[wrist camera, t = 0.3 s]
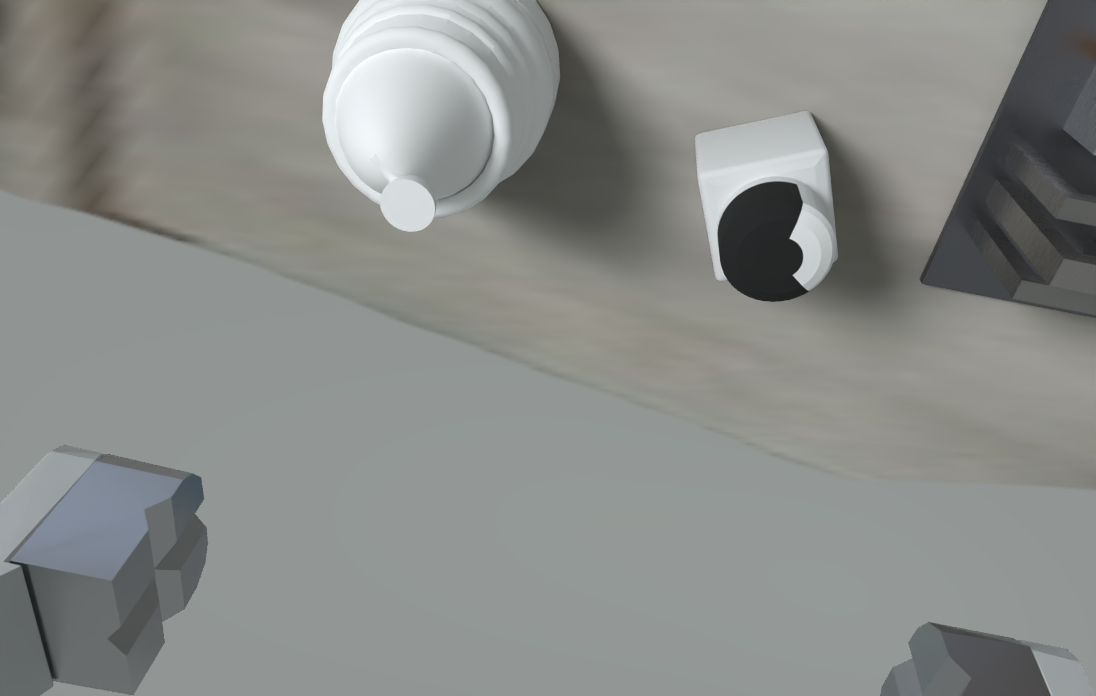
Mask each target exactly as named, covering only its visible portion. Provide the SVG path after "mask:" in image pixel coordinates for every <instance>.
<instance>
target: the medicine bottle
mask: <svg viewBox="0 0 1096 696" xmlns="http://www.w3.org/2000/svg"><path fill="white" fill-rule="evenodd" d="M695 148H696V161H697V174H698V182H699V188H700V194H701V199H702V205H703V210H704V216H705V221H706V227H707V233H708V238H709V244H710V249H711V255H712V260H713V266H714V272H715V277H716V279H717V280H718V281H729V282H730V283H731V285H732V286H733V287H734V288H736V289H737V290H738V291H739V292H741V293H742V294H744V295H746V296H748V297H751V298H754V299H757V300H761V301H770V302H775V301H785V300H790V299H793V298H796V297H799V296H801V295H803V294H805V293H807V292H809V291H810V290H812V289H813V288H814V287H816V286H817V285H818V284H819V283H820V282H821V281H822V280H823V279H824V278H825V276H826V275H827V274H828V272H829V270H830V269H831V267H832V264H833V262H835V261H836V260H837V258H838V249H837V239H836V228H835V218H834V207H833V197H832V186H831V176H830V165H829V155H828V151H827V148H826V146H825V144H824V142H823V139H822V137H821V135H820V133H819V130H818V128H817V126H816V124H815V121H814V119H813V117H812V115H811V113H810V112H808V111H803V112H798V113H794V114H789V115H784V116H779V117H775V118H770V119H765V120H760V121H756V122H751V123H746V124H741V125H737V126H732V127H727V128H723V129H718V130H713V131H708V132H704V133H699V134H697V136H696V137H695Z"/></svg>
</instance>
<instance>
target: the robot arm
mask: <svg viewBox="0 0 1096 696" xmlns="http://www.w3.org/2000/svg"><path fill="white" fill-rule="evenodd" d="M203 500H204V495H203V488H202V481H201V477H199V476H197V475H195V474H192V473H189V472H184V471H180V470H175V469H171V468H167V467H162V466H158V465H153V464H149V463H145V462H140V461H136V460H132V459H128V458H123V457H119V456H115V455H110V454H102V453H98V452H94V451H89V450H85V449H81V448H76V447H72V446H67V445H63V446H60V447H59V448H56V449H54V450H52V451H50V452H48V453H47V454H46V455H45V456H44V457H43V459H42V460H41V461H40V462H39V463H38V464H37V465H36V466H35V467H34V468H33V469H32V470H31V471H30V472H29V473H28V475H27V476H25V478H24V479H23V480H22V481H21V482H20V483H19V484H18V485H17V486H16V487H15V488H14V489H13V490H12V491H11V492H10V493H9V495H8V496H7V497H6V498H5V499H4V500H3V501H2V502H1V503H0V696H40V695H41V694H43V693H44V692H46V691H47V690H48V689H50V688H51V687H53V681H56V682H61V683H68V684H73V685H78V686H84V687H90V688H95V689H102V690H107V691H112V692H118V693H124V694H129V695H134V693H135V691H136V690H137V688H138V686H139V685H140V683H141V681H142V680H143V678H144V676H145V675H146V673H147V671H148V670H149V668H150V666H151V665H152V663H153V661H154V660H155V658H156V656H157V655H158V653H159V651H160V650H161V648H162V646H163V645H164V643H165V641H164V633H163V626H162V622H163V621H165V620H166V619H168V618H170V617H172V616H173V615H175V614H177V613H179V612H180V611H182V610H184V609H185V607H186V605H187V604H188V602H189V600H190V598H191V597H192V594H193V593H194V591H195V590H196V588H197V585H198V582H199V579H200V576H201V573H202V571H203V568H204V565H205V561H206V553H207V545H208V541H207V540H208V539H207V528H206V526H205V525H204V524H203V523H202V522H201V520H200V519H199V518H198V517H197V516H196V515H195V513H196V511H197V509H198V508H199V506H200V505H201V503H202V502H203ZM909 646H910V650H911V654H912V657H913V658H912V659H910V660H908V661H906V662H903V663H901V664H899V665H897V666H895V667H893V668H892V670H891V671H890V673H889V675H888V677H887V679H886V680H885V682H884V684H883V686H882V690H881V695H880V696H1095V694H1094V692H1093V690H1092V688H1091V686H1090V684H1089V681H1088V679H1087V677H1086V675H1085V673H1084V671H1083V669H1082V667H1081V665H1080V663H1079V661H1078V659H1077V658H1076V657H1075V656H1074V655H1073V654H1072V653H1071V652H1070V651H1069V650H1068V649H1064V648H1059V647H1053V646H1048V645H1043V644H1038V643H1033V642H1028V641H1023V640H1015V639H1013V638H1009V637H1004V636H999V635H993V634H988V633H983V632H978V631H973V630H967V629H962V628H957V627H951V626H947V625H941V624H936V623H930V622H928V623H926V624H924V625H922V626H921V627H919V628H918V629H917V630H916V632H915V633H914V635H913V636H912V638H911V639H910V641H909Z"/></svg>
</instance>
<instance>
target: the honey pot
mask: <svg viewBox="0 0 1096 696" xmlns="http://www.w3.org/2000/svg"><path fill="white" fill-rule="evenodd" d="M559 81H560V66H559V50H558V46H557V43H556V40H555V37H554V34H553V31H552V28H551V25H550V22H549V20H548V19H547V17H546V16H545V14H544V12H543V11H542V9H541V8H540V6H539V4H538V3H537V1H536V0H359V2H358V3H357V5H356V6H355V7H354V9H353V10H352V12H351V13H350V15H349V16H348V18H347V19H346V20H345V22H344V23H343V26H342V28H341V31H340V34H339V37H338V40H337V43H336V46H335V49H334V52H333V64H332V71H331V74H330V77H329V80H328V83H327V86H326V89H325V92H324V96H323V117H322V120H323V124H324V129H325V134H326V139H327V143H328V146H329V148H330V150H331V152H332V154H333V156H334V158H335V160H336V162H337V164H338V166H339V168H340V169H341V170H342V171H343V173H344V174H345V175H346V176H347V178H348V179H349V180H350V181H351V183H352V184H353V185H354V186H355V187H356V188H357V189H358V190H360V191H361V192H362V193H363V194H365V195H366V196H367V197H368V198H370V199H371V200H372V201H373V202H375V203H377V204H379V205H380V207H381V210H382V213H383V215H384V216H385V218H386V219H387V220H388V222H389V223H391V224H392V225H393V226H395V227H396V228H398V229H400V230H404V231H410V232H413V231H419V230H422V229H424V228H425V227H427V226H428V225H429V224H430V223H431V221H432V220H433V218H443V217H446V216H450V215H453V214H457V213H461V212H464V211H466V210H467V209H469V208H471V207H472V206H474V205H476V204H477V203H479V202H481V201H482V200H484V199H485V198H486V197H487V196H488V195H489V194H490V192H491V191H492V190H493V189H494V188H495V187H496V186H497V185H498V184H499V183H500V182H501V181H503V180H505V179H506V178H508V177H510V176H511V175H513V174H514V173H515V172H516V171H517V170H518V169H519V168H520V167H521V166H522V165H523V164H524V163H525V162H526V161H527V159H528V158H529V157H530V156H531V155H532V154H533V153H534V151H535V149H536V147H537V145H538V143H539V141H540V139H541V137H542V135H543V133H544V131H545V129H546V126H547V124H548V121H549V119H550V116H551V113H552V110H553V108H554V105H555V101H556V96H557V91H558V86H559Z"/></svg>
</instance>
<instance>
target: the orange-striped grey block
mask: <svg viewBox="0 0 1096 696" xmlns="http://www.w3.org/2000/svg"><path fill="white" fill-rule="evenodd" d="M1063 129H1064V130H1065V131H1066V132H1067V133H1068V134H1069V135H1071V136H1072V137H1073V138H1074V139H1075V140H1076V141H1078V142H1079V143H1080V144H1081V145H1082V146H1084V147H1085V148H1086V149H1087V150H1088V151H1089V152H1091V153H1092V154H1093V155H1096V64H1095V66H1094V68H1093V70H1092V72H1091V74H1090V76H1089V78H1088V80H1087V82H1086V84H1085V86H1084V88H1083V90H1082V92H1081V94H1080V96H1079V98H1078V100H1077V102H1076V104H1075V106H1074V108H1073V110H1072V112H1071V114H1070V116H1069V117H1068V119H1067V121H1066V123H1065V125H1064V127H1063Z"/></svg>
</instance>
